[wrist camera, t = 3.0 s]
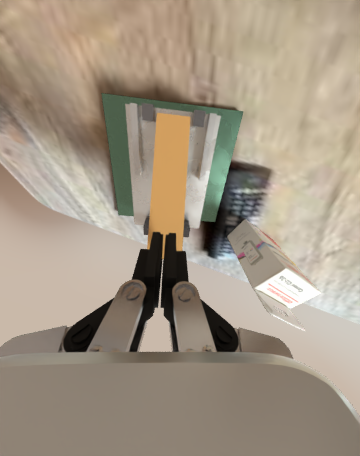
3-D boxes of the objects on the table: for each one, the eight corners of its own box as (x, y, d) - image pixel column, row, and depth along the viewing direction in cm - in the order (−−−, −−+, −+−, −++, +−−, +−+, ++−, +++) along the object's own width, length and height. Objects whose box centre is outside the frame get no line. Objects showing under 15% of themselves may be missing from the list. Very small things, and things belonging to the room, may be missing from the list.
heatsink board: (104, 94, 17) (68, 76, 11) (240, 112, 18) (270, 104, 13) (120, 212, 25) (104, 237, 19) (213, 218, 27) (224, 244, 21)
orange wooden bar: (157, 119, 14) (156, 112, 13) (189, 123, 14) (190, 116, 14) (147, 256, 14) (146, 258, 13) (180, 258, 14) (181, 259, 13)
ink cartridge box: (274, 239, 29) (346, 317, 17) (254, 254, 32) (305, 334, 19) (245, 217, 27) (306, 292, 14) (225, 235, 29) (263, 315, 16)
